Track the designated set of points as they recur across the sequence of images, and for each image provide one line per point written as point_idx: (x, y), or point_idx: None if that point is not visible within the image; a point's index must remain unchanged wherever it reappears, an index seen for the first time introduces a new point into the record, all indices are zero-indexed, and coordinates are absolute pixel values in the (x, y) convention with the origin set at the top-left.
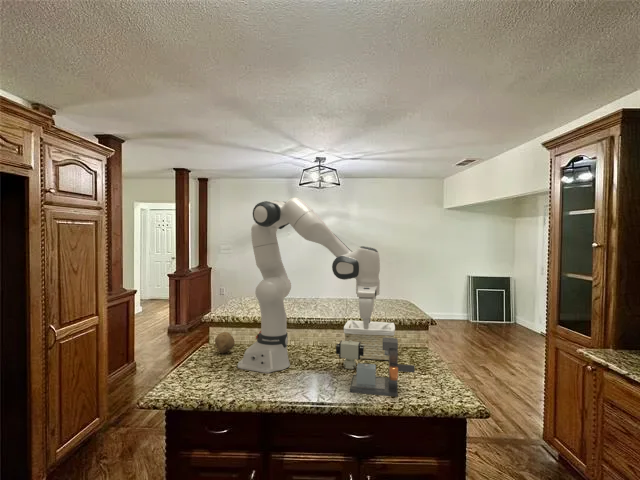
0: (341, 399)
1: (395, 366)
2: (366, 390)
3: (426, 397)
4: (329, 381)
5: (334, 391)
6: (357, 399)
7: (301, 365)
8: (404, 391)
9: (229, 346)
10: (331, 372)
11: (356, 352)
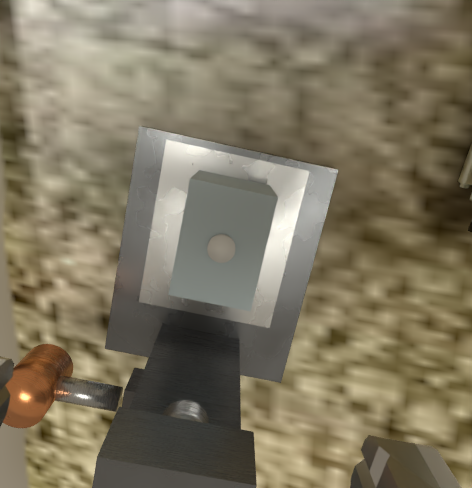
0: (56, 72)
1: (37, 417)
2: (126, 211)
3: None
4: (284, 19)
5: (149, 41)
6: (64, 155)
7: None
8: None
9: None
10: (422, 41)
11: None
